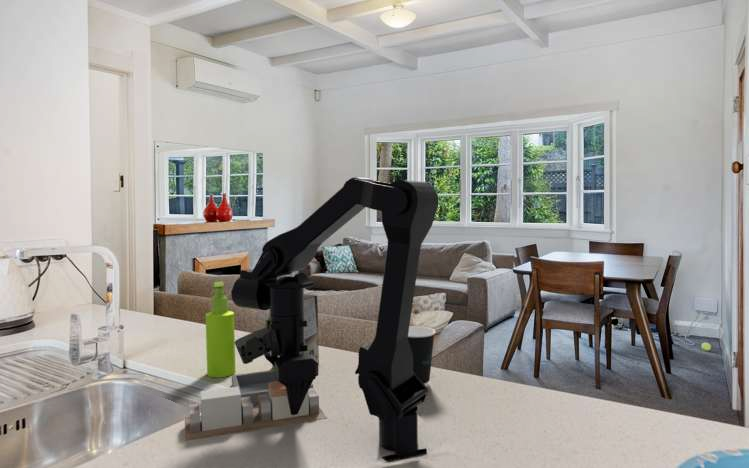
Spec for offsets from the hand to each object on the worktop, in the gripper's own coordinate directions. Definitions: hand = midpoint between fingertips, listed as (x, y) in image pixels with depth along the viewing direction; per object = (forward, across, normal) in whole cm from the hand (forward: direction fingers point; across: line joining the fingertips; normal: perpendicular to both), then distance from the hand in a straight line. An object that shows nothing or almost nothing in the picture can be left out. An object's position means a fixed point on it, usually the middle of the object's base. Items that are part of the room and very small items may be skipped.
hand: (288, 404), depth 88 cm
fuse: (+2, 0, -11) cm, 11 cm away
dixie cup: (+3, -7, +27) cm, 28 cm away
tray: (+2, -12, -1) cm, 12 cm away
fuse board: (+2, 0, -6) cm, 6 cm away
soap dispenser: (+3, -29, -9) cm, 31 cm away
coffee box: (+3, -28, +7) cm, 29 cm away
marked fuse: (+2, 0, 0) cm, 2 cm away
